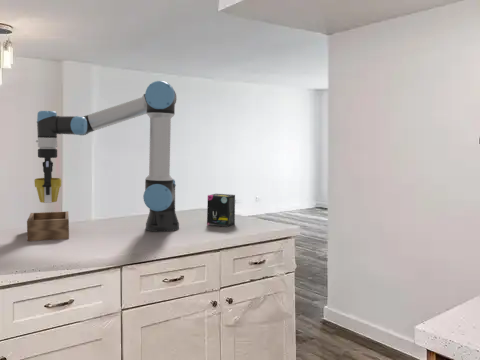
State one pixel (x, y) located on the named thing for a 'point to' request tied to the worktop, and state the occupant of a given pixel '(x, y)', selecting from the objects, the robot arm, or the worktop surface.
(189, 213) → the worktop surface
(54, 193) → the plant pot
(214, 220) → the tampon box
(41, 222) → the open wooden box
